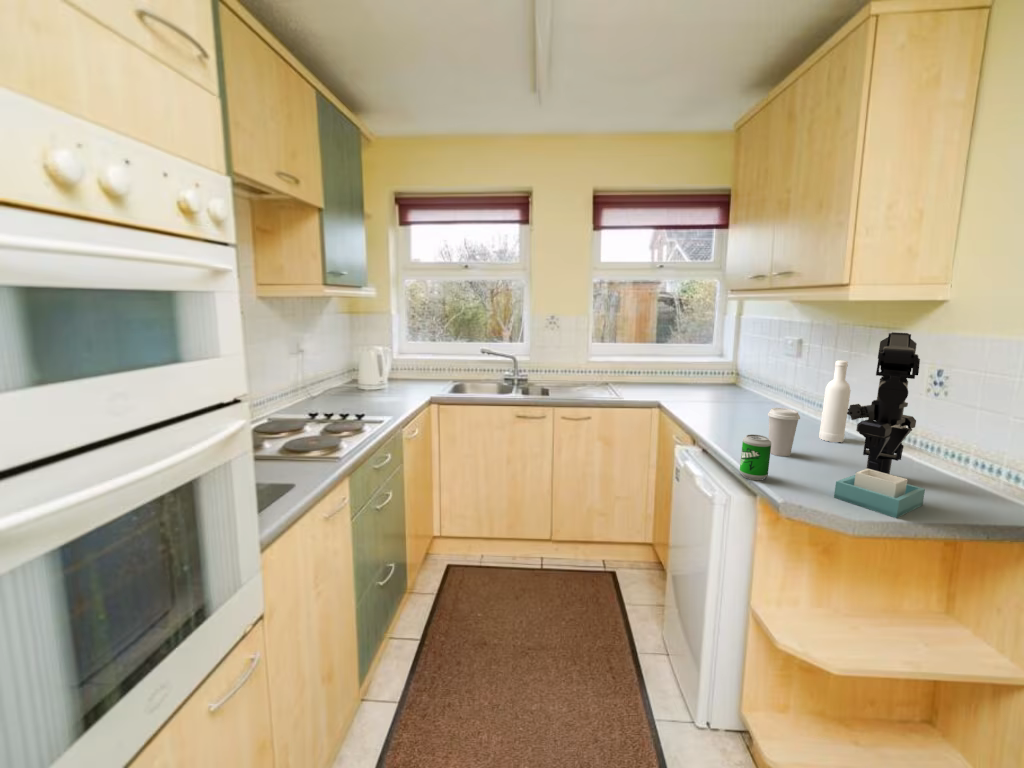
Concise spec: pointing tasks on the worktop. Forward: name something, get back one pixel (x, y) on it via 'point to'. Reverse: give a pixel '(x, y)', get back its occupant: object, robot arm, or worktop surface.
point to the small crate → (881, 482)
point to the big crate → (879, 498)
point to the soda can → (755, 457)
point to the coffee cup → (782, 430)
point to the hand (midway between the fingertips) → (881, 456)
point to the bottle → (835, 405)
